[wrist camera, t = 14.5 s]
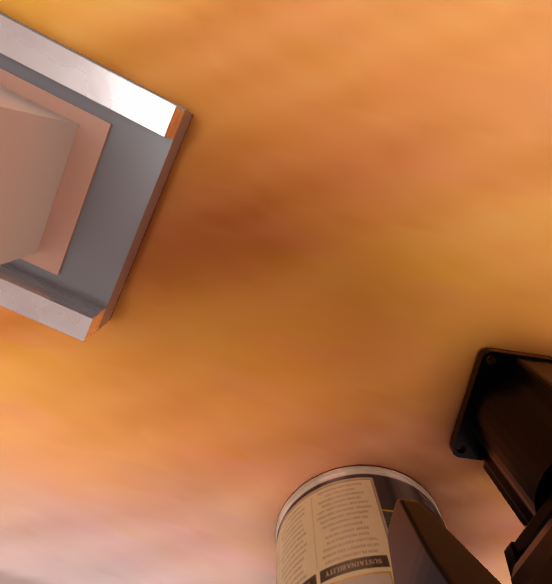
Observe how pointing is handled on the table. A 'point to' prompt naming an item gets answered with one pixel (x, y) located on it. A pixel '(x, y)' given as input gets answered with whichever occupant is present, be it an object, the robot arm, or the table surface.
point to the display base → (87, 181)
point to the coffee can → (343, 526)
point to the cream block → (29, 170)
